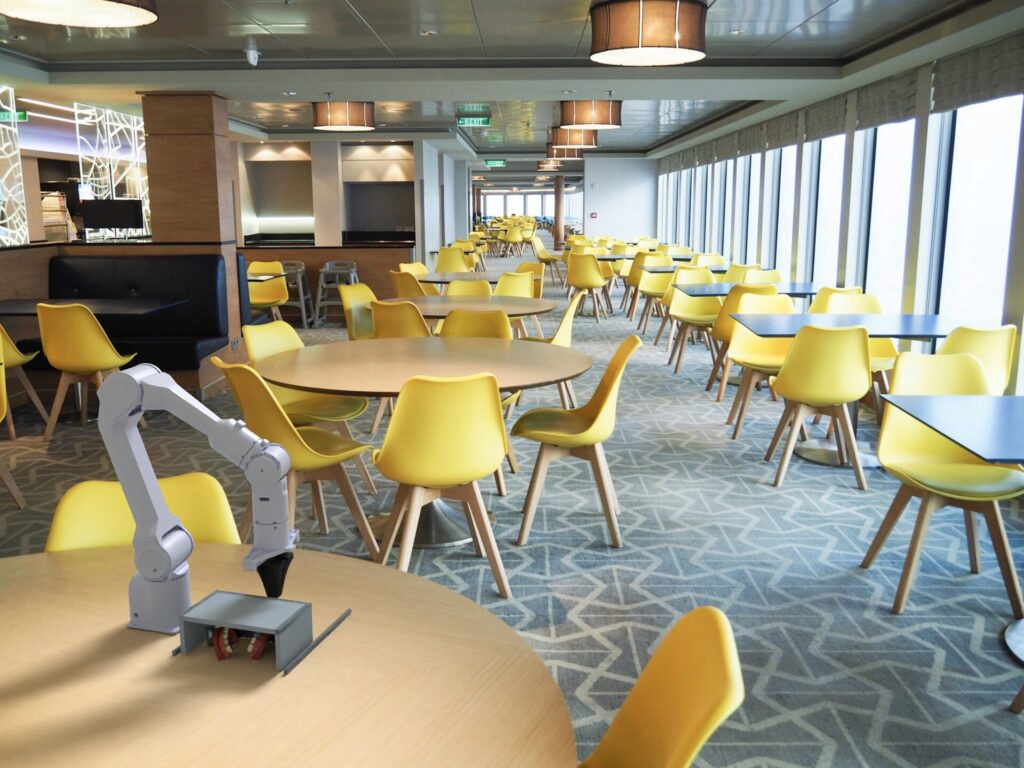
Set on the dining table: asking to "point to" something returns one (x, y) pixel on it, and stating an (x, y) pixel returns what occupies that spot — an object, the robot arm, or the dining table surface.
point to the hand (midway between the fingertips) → (274, 596)
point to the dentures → (231, 636)
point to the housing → (250, 621)
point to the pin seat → (250, 635)
